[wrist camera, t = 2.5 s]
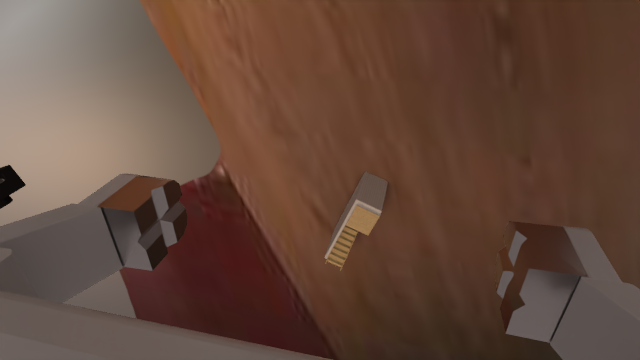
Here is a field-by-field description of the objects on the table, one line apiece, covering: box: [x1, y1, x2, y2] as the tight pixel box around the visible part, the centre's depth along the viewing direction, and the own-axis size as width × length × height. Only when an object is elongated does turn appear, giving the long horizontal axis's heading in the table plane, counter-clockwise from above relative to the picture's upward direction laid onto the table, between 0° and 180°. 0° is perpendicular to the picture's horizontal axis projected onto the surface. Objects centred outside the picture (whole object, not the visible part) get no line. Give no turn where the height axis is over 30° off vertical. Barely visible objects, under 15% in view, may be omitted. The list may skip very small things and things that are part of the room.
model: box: [324, 171, 388, 271], centre depth 49 cm, size 3×11×8 cm, turn 160°
